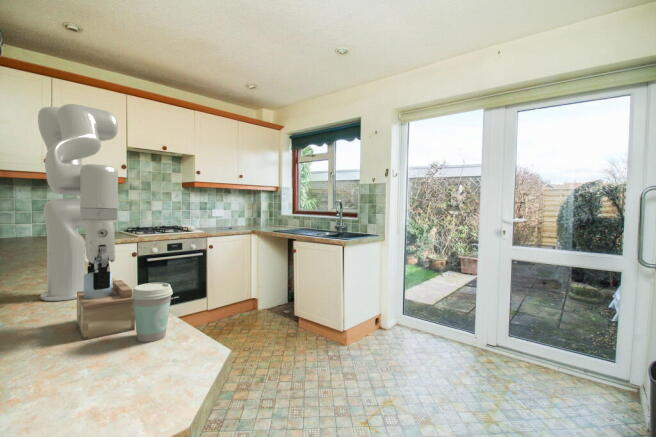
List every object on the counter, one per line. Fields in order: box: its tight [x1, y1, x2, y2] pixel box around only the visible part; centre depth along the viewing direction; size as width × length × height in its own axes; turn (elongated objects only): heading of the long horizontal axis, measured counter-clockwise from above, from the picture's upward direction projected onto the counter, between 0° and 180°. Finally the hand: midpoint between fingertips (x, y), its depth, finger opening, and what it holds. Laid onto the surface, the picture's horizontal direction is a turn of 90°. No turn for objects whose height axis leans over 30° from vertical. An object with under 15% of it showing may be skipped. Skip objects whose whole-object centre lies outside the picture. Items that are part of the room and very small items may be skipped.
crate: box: [76, 296, 136, 341], centre depth 79 cm, size 14×10×7 cm
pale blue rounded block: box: [84, 271, 113, 299], centre depth 78 cm, size 6×6×6 cm
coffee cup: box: [131, 282, 174, 343], centre depth 74 cm, size 8×8×12 cm
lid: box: [77, 279, 133, 309], centre depth 79 cm, size 14×10×3 cm
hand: (98, 284), depth 78 cm, fingers open, 9 cm apart
